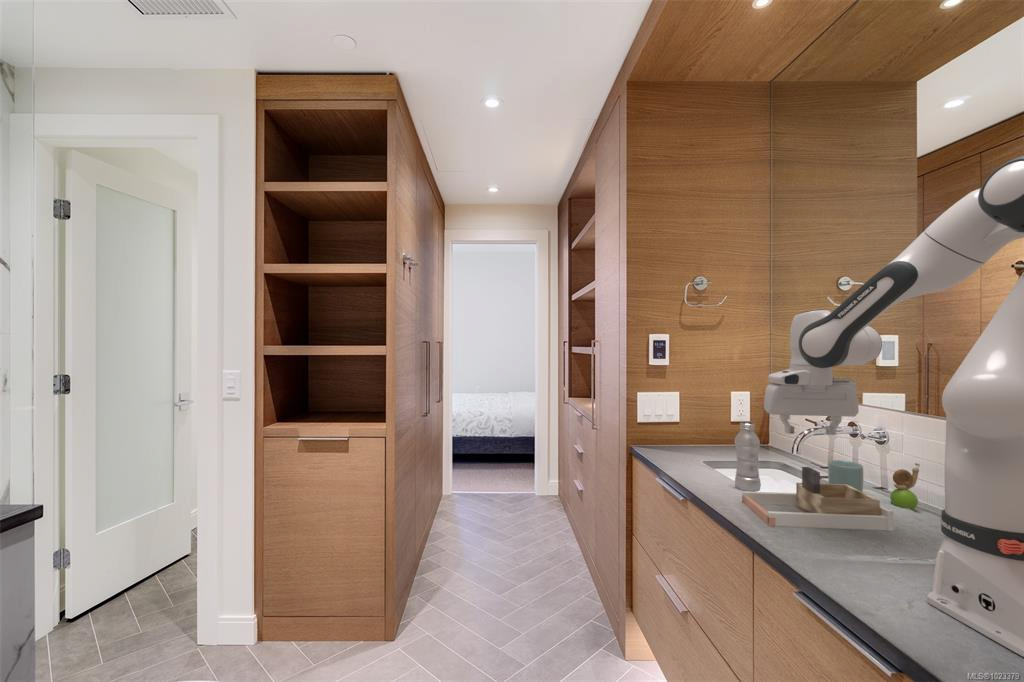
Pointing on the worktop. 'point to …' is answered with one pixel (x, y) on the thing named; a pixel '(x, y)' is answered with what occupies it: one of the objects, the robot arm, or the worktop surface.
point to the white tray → (812, 514)
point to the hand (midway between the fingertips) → (810, 433)
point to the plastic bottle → (747, 458)
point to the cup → (846, 473)
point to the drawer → (832, 497)
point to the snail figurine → (905, 488)
